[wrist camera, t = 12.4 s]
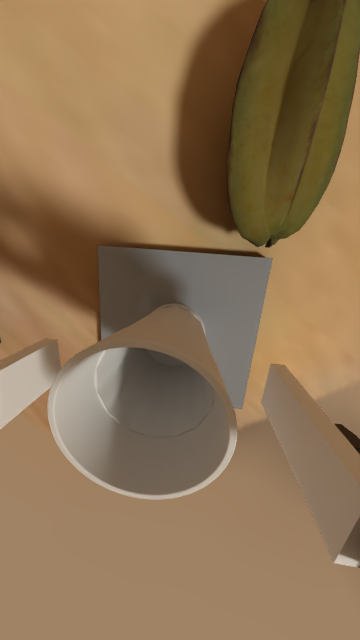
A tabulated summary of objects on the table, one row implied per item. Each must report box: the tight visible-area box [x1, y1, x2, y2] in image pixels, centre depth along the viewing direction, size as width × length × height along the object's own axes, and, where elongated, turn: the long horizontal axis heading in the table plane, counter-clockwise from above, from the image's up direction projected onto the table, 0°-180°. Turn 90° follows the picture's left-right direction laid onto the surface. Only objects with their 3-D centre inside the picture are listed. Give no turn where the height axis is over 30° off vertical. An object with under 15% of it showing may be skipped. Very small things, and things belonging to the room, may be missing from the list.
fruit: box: [227, 0, 360, 247], centre depth 13 cm, size 11×12×7 cm
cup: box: [47, 303, 237, 499], centre depth 14 cm, size 8×8×12 cm
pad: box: [97, 245, 273, 409], centre depth 20 cm, size 16×16×1 cm
